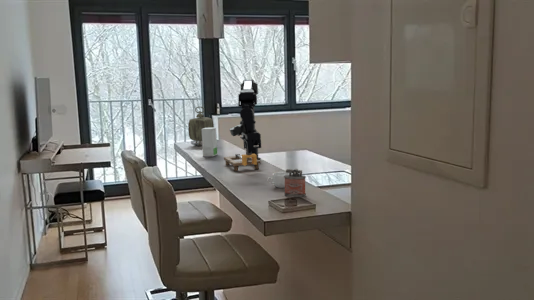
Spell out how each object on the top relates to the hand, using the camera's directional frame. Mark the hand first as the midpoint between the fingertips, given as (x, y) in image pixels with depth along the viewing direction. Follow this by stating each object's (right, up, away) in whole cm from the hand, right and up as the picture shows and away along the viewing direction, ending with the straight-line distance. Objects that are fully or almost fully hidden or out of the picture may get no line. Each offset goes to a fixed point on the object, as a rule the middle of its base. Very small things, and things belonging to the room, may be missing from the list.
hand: (249, 152), depth 233 cm
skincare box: (-24, -2, +52) cm, 57 cm away
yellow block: (0, -5, +1) cm, 5 cm away
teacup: (+13, -14, -31) cm, 36 cm away
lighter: (+19, -16, -46) cm, 52 cm away
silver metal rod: (-4, -3, +14) cm, 15 cm away
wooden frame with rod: (-4, -7, +14) cm, 17 cm away
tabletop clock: (-34, +4, +92) cm, 98 cm away
